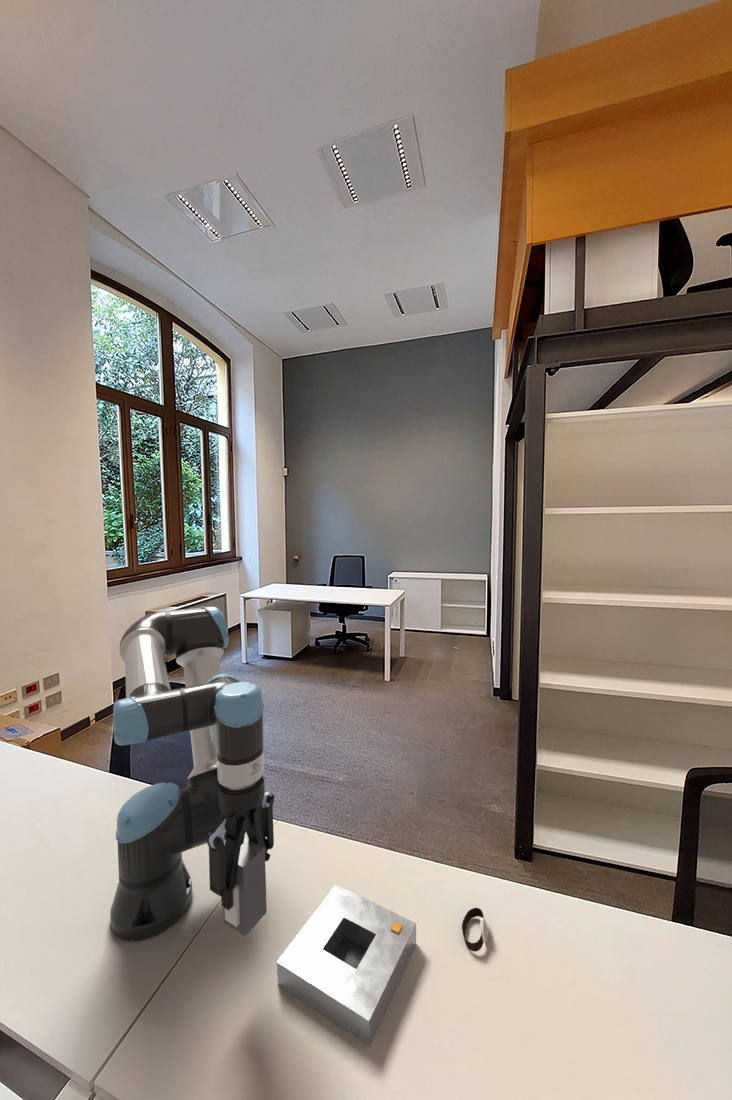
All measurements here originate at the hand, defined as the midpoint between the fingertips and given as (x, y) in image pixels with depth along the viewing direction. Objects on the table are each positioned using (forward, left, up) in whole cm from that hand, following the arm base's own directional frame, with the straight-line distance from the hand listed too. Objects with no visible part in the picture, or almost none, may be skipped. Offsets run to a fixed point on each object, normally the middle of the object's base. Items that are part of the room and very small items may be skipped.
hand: (245, 907), depth 73 cm
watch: (+32, +27, -13) cm, 44 cm away
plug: (0, 0, -2) cm, 2 cm away
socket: (+14, +11, -13) cm, 22 cm away
